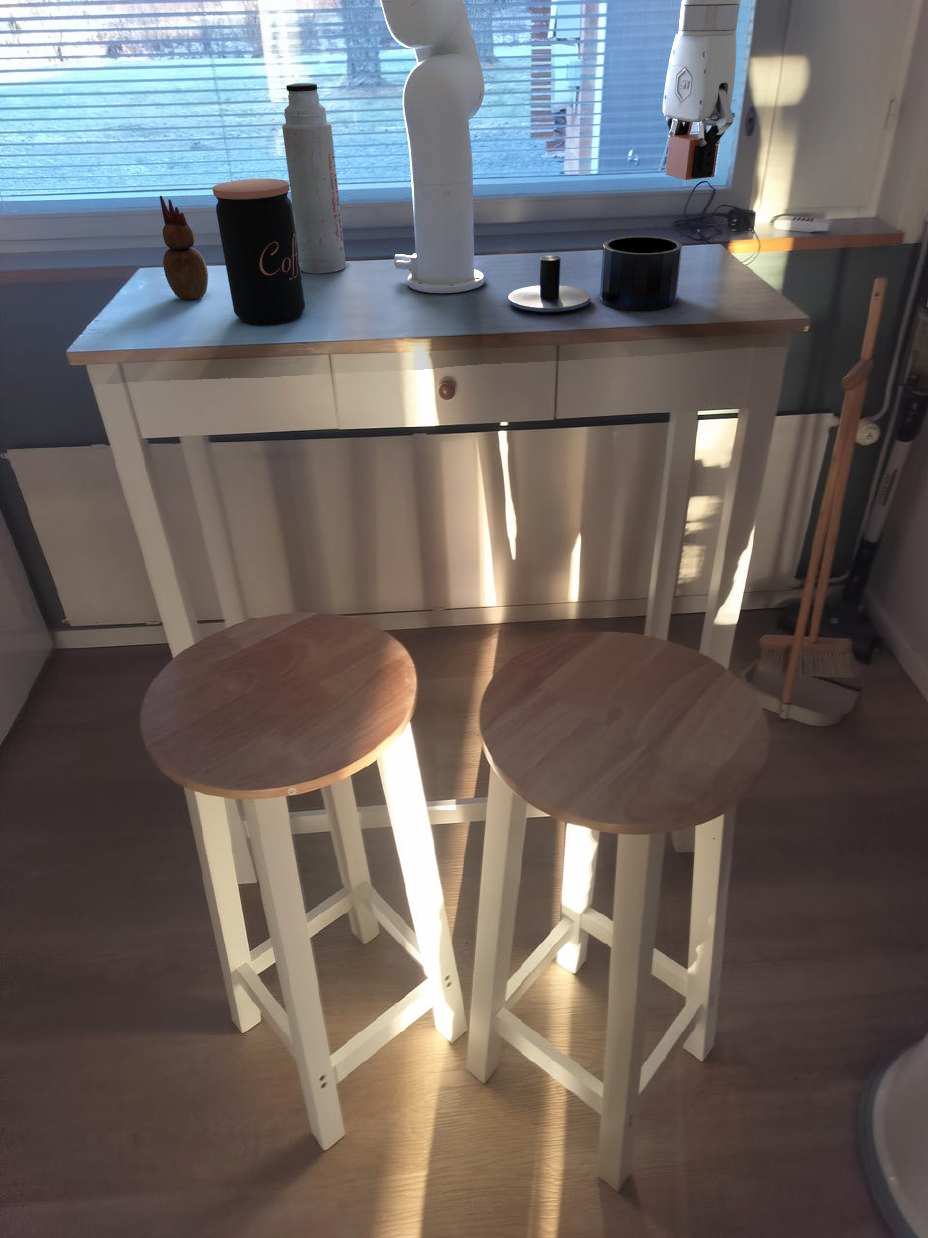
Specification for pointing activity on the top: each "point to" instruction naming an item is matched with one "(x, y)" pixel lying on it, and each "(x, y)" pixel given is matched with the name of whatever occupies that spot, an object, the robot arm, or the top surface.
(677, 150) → the block
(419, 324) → the top surface
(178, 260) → the wooden figurine
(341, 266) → the thermos bottle
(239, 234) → the coffee jar
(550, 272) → the lid
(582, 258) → the top surface
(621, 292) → the pot
